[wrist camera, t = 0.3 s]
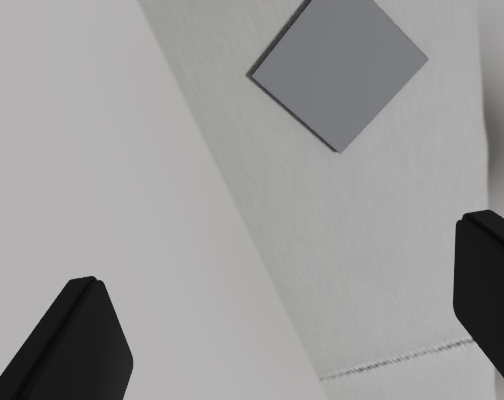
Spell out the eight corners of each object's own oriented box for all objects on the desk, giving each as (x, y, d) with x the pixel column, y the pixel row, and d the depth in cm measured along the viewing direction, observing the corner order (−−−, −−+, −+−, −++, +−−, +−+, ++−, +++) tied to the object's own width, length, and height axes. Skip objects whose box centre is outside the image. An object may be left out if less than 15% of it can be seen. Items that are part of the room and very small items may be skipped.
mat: (338, -34, 34) (339, -35, 33) (426, 58, 37) (429, 59, 36) (251, 76, 37) (251, 76, 36) (339, 152, 40) (340, 153, 40)
